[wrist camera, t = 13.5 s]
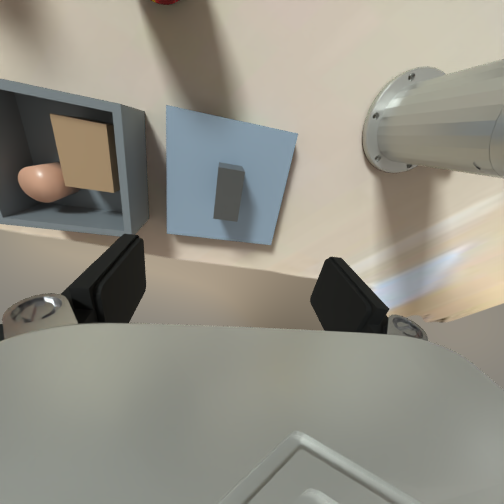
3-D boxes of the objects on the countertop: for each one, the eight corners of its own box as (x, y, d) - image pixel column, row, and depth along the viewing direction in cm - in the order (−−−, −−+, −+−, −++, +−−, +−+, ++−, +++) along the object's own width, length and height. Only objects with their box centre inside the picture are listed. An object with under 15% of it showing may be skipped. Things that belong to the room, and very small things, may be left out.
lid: (292, 133, 29) (312, 133, 23) (268, 238, 37) (277, 260, 30) (170, 107, 26) (153, 98, 20) (170, 227, 34) (157, 249, 27)
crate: (144, 111, 26) (120, 103, 20) (149, 218, 33) (131, 237, 27) (9, 83, 24) (-66, 64, 18) (42, 205, 30) (-4, 223, 24)
